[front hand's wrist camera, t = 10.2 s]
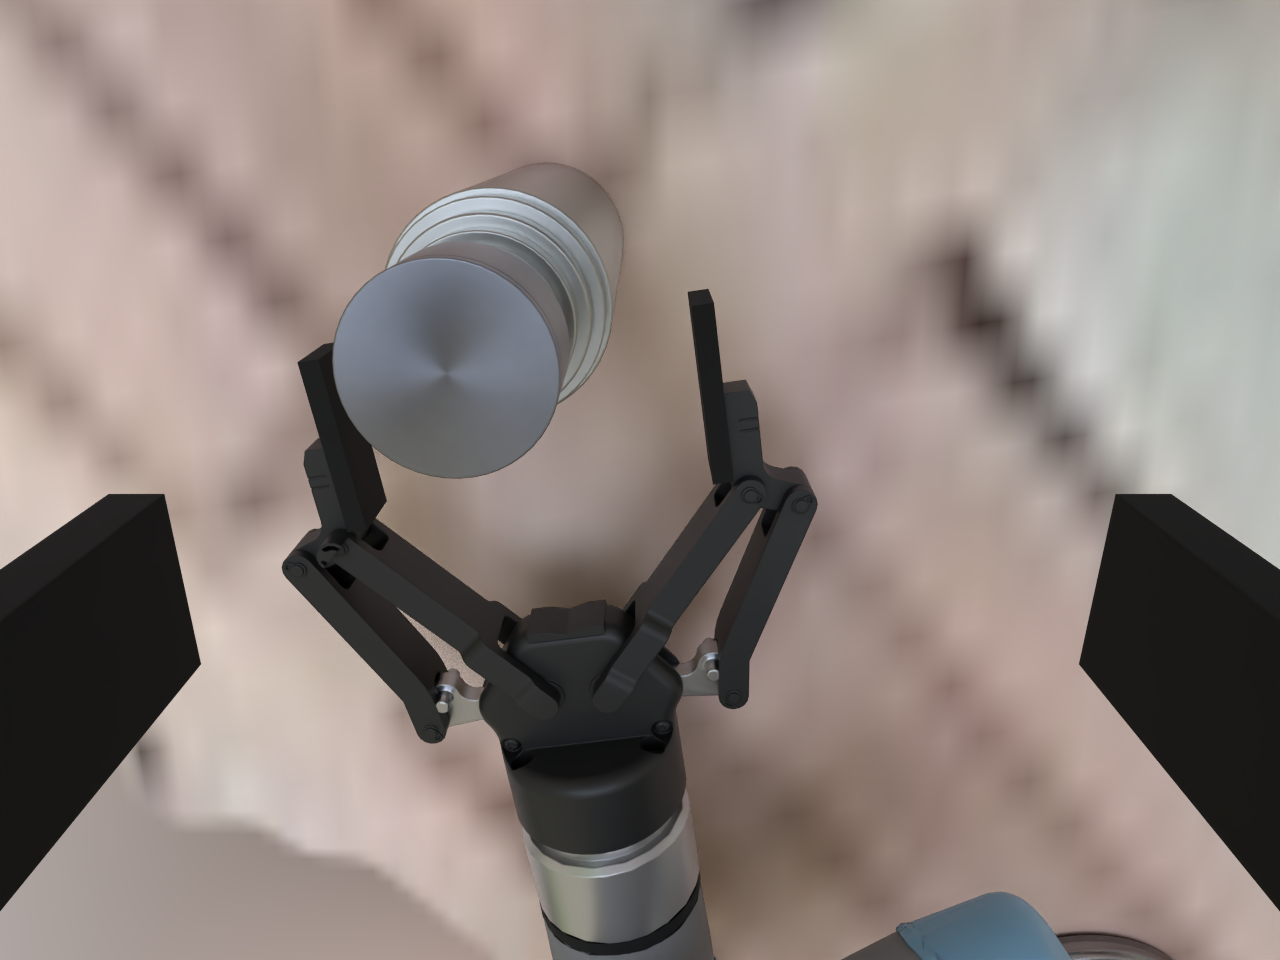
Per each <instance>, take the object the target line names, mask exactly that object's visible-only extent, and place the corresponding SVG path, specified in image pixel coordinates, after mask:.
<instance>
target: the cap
mask: <svg viewBox="0 0 1280 960" xmlns="http://www.w3.org/2000/svg"><path fill="white" fill-rule="evenodd" d="M569 347H570V342H569V334H568V328H567V324H566V320H565V316H564V314H563V312H562V309H561V307H560V304H559V302H558V300H557V299H556V297H555V295H554V293H553V292H552V290H551V289H550V288H549V286H548V285H547V284H546V282H545V281H544V280H543V279H542V278H541V277H540V276H539V275H538V274H537V273H536V271H535V270H533V269H532V268H531V267H530V266H528V265H527V264H526V263H525V262H523V261H522V260H520V259H519V258H517V257H515V256H514V255H512V254H510V253H508V252H506V251H503V250H501V249H499V248H496V247H493V246H490V245H486V244H481V243H475V242H462V241H456V242H446V243H441V244H437V245H432V246H429V247H427V248H424V249H422V250H419V251H417V252H416V253H414V254H412V255H410V256H409V257H407V258H405V259H403V260H402V261H400V262H398V263H396V264H395V265H393V266H391V267H389V268H388V269H386V270H384V271H382V272H381V273H379V274H377V275H376V276H374V277H373V278H372V279H371V280H369V281H368V282H367V283H365V284H364V285H363V286H362V288H361V289H360V290H359V291H358V292H357V293H356V294H355V295H354V296H353V298H352V299H351V301H350V302H349V304H348V305H347V306H346V308H345V310H344V312H343V314H342V316H341V318H340V321H339V324H338V327H337V330H336V333H335V339H334V344H333V358H332V363H333V374H334V379H335V384H336V388H337V392H338V394H339V397H340V400H341V403H342V405H343V407H344V409H345V411H346V413H347V415H348V417H349V418H350V420H351V421H352V423H353V424H354V426H355V427H356V429H357V430H358V431H359V432H360V433H361V435H362V436H363V437H364V438H365V439H366V440H367V441H368V442H369V443H370V444H371V445H372V446H373V447H374V448H375V449H377V450H378V451H379V452H380V453H382V454H383V455H385V456H386V457H387V458H389V459H390V460H392V461H394V462H396V463H397V464H399V465H401V466H403V467H405V468H408V469H410V470H413V471H415V472H418V473H422V474H425V475H429V476H434V477H441V478H457V479H460V478H471V477H477V476H481V475H486V474H489V473H492V472H495V471H498V470H500V469H502V468H504V467H506V466H508V465H510V464H512V463H513V462H515V461H516V460H518V459H519V458H521V457H522V456H523V455H524V454H526V453H527V452H528V451H529V450H530V449H531V448H532V447H533V446H534V445H535V444H536V443H537V441H538V440H539V439H540V438H541V437H542V435H543V433H544V432H545V430H546V429H547V427H548V425H549V423H550V421H551V419H552V417H553V414H554V412H555V409H556V406H557V402H558V399H559V396H560V392H561V389H562V386H563V383H564V379H565V376H566V372H567V369H568V362H569Z"/></svg>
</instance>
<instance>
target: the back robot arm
mask: <svg viewBox="0 0 1280 960" xmlns="http://www.w3.org/2000/svg"><path fill="white" fill-rule="evenodd" d="M688 298H689V307H690V315H691V323H692V331H693V339H694V347H695V355H696V364H697V372H698V380H699V388H700V396H701V404H702V412H703V421H704V429H705V437H706V445H707V453H708V460H709V465H710V470H711V476H712V481H713V484H716V485H715V487H714V488H713V490H712V491H711V492H710V494H709V495H708V497H707V498H706V499H705V501H704V502H703V504H702V505H701V506H700V508H699V509H698V511H697V512H696V513H695V515H694V516H693V518H692V519H691V520H690V522H689V523H688V525H687V526H686V527H685V529H684V530H683V532H682V533H681V534H680V536H679V537H678V539H677V540H676V541H675V543H674V544H673V546H672V547H671V548H670V550H669V551H668V553H667V554H666V555H665V557H664V558H663V560H662V561H661V563H660V564H659V565H658V567H657V568H656V570H655V571H654V572H653V574H652V575H651V577H650V578H649V579H648V581H646V582H643V583H642V584H641V585H640V586H639V588H638V589H637V590H636V592H635V593H634V595H633V596H632V597H631V599H630V600H629V602H628V603H627V604H626V606H625V607H624V609H623V610H622V609H620V608H618V607H615V606H611V605H607V603H606V600H599V601H591V602H586V603H584V604H581V605H578V606H576V607H573V608H570V609H568V608H558V607H543V608H535V609H532V611H531V615H528V616H526V617H525V618H523V619H521V618H520V617H519V616H517V615H516V614H515V613H513V612H512V611H511V610H509V609H508V608H506V607H505V606H504V605H502V604H501V603H499V602H497V601H487V600H486V599H484V598H483V597H482V596H480V595H479V594H478V593H476V592H475V591H474V590H472V589H471V588H469V587H468V586H467V585H465V584H464V583H463V582H461V581H460V580H459V579H457V578H456V577H455V576H453V575H452V574H450V573H449V572H448V571H446V570H445V569H444V568H442V567H441V566H440V565H438V564H437V563H436V562H434V561H433V560H431V559H430V558H429V557H427V556H426V555H425V554H423V553H422V552H421V551H419V550H418V549H417V548H415V547H414V546H413V545H411V544H410V543H408V542H407V541H406V540H404V539H403V538H402V537H400V536H399V535H398V534H396V533H395V532H394V531H392V530H391V529H389V528H388V527H387V526H385V525H384V524H383V523H381V522H380V521H379V520H377V519H376V516H377V515H378V513H379V512H380V510H381V509H382V507H383V506H384V504H385V503H386V501H387V500H386V496H385V493H384V489H383V485H382V482H381V478H380V474H379V471H378V467H377V463H376V460H375V456H374V452H373V449H372V445H371V444H370V443H369V442H368V441H367V440H366V439H365V438H364V437H363V436H362V435H361V433H360V432H359V431H358V430H357V429H356V427H355V426H354V424H353V423H352V421H351V420H350V418H349V417H348V415H347V413H346V411H345V409H344V407H343V405H342V403H341V400H340V397H339V394H338V392H337V388H336V384H335V379H334V374H333V363H332V358H333V344H334V343H329V344H323V345H322V346H320V347H319V348H318V349H316V350H315V351H313V352H312V353H310V354H309V355H307V356H306V357H305V358H303V359H302V360H300V361H299V362H298V366H299V369H300V373H301V376H302V379H303V383H304V386H305V390H306V393H307V396H308V400H309V403H310V407H311V410H312V413H313V417H314V420H315V424H316V427H317V430H318V434H319V437H320V438H318V439H317V440H316V441H315V442H314V443H313V444H312V445H311V446H310V447H309V448H308V449H307V450H306V451H305V456H304V467H305V471H306V474H307V477H308V478H309V480H308V481H309V484H310V487H311V488H312V494H313V497H314V500H315V504H316V507H317V510H318V513H319V517H320V520H321V525H322V527H321V528H320V529H313V530H310V531H309V532H308V533H307V534H306V535H305V536H304V537H303V538H302V540H301V541H300V542H299V543H298V545H297V546H296V547H295V548H294V549H293V551H292V552H291V553H290V554H289V556H288V557H287V558H286V559H285V561H284V562H283V565H282V571H283V574H284V575H285V577H286V578H287V579H288V580H289V581H290V582H291V583H292V584H293V586H294V587H295V588H296V589H297V590H298V591H299V592H300V593H301V594H302V595H303V596H304V597H305V598H306V599H307V600H308V601H309V602H310V604H311V605H312V606H313V607H314V608H315V609H316V610H317V611H318V612H319V613H320V614H321V615H322V616H323V617H324V618H325V619H326V620H327V621H328V623H329V624H330V625H331V626H332V627H333V628H334V629H335V630H336V631H337V632H338V633H339V634H340V635H341V636H342V637H343V638H344V639H345V641H346V642H347V643H348V644H349V645H350V646H351V647H352V648H353V649H354V650H355V651H356V652H357V653H358V654H359V655H360V656H361V657H362V658H363V660H364V661H365V662H366V663H367V664H368V665H369V666H370V667H371V668H372V669H373V670H374V671H375V672H376V673H377V674H378V675H379V676H380V678H381V679H382V680H383V681H384V682H385V683H386V684H387V685H388V686H389V687H390V688H391V689H392V690H393V691H394V692H395V693H396V694H397V695H398V697H399V698H400V699H401V700H402V701H403V702H404V704H405V706H406V709H407V711H408V713H409V716H410V718H411V720H412V723H413V725H414V727H415V730H416V732H417V734H418V736H419V737H420V739H422V740H423V741H425V742H427V743H438V742H441V741H442V740H443V739H444V738H445V735H446V732H447V729H448V727H450V726H454V725H459V724H463V723H468V722H472V721H477V720H482V719H484V720H485V722H486V723H487V724H489V725H490V726H491V727H492V729H493V730H494V731H495V732H496V734H497V736H498V737H499V740H500V744H501V749H502V754H503V758H504V762H505V766H506V770H507V774H508V778H509V782H510V786H511V790H512V794H513V798H514V802H515V806H516V810H517V814H518V818H519V821H520V823H521V825H522V826H521V827H522V835H523V841H524V845H525V848H526V852H527V856H528V859H529V863H530V867H531V870H532V874H533V878H534V881H535V885H536V889H537V892H538V896H539V900H540V905H541V910H542V915H543V918H544V921H545V926H546V930H547V934H548V939H549V943H550V948H551V952H552V957H553V960H716V958H715V957H714V956H713V949H712V943H711V937H710V931H709V926H708V920H707V915H706V910H705V904H704V899H703V894H702V888H701V883H700V866H699V860H698V853H697V846H696V840H695V833H694V826H693V819H692V813H691V806H690V800H689V796H688V791H687V788H686V774H685V767H684V761H683V754H682V748H681V741H680V735H679V728H678V721H677V715H676V707H677V704H678V702H679V700H680V699H681V696H703V695H719V700H720V703H721V704H722V705H723V706H725V707H726V708H730V709H736V708H740V707H742V706H744V705H745V703H746V702H747V701H748V697H749V661H750V658H751V656H752V654H753V652H754V649H755V647H756V645H757V643H758V640H759V638H760V636H761V633H762V631H763V629H764V627H765V624H766V622H767V620H768V618H769V615H770V613H771V611H772V609H773V606H774V604H775V602H776V600H777V597H778V595H779V593H780V591H781V588H782V586H783V584H784V582H785V579H786V577H787V575H788V573H789V570H790V568H791V566H792V564H793V561H794V559H795V557H796V555H797V552H798V550H799V548H800V546H801V543H802V541H803V539H804V537H805V534H806V532H807V530H808V527H809V525H810V523H811V521H812V518H813V516H814V514H815V512H816V509H817V499H816V497H815V495H814V492H813V490H812V488H811V486H810V484H809V482H808V479H807V477H806V475H805V473H804V472H803V471H802V470H801V469H799V468H797V467H787V468H784V469H783V468H778V467H773V466H770V465H768V464H766V463H765V462H764V461H763V459H762V449H761V439H760V430H759V419H758V408H757V402H756V399H755V397H754V395H753V392H752V390H751V388H750V387H749V385H748V383H747V381H746V380H740V381H733V382H726V383H723V380H722V371H721V363H720V354H719V345H718V336H717V327H716V318H715V309H714V302H713V300H712V297H711V295H710V292H709V290H708V289H705V290H698V291H691V292H688ZM760 508H763V510H762V512H761V515H760V517H759V520H758V522H757V524H756V527H755V529H754V532H753V534H752V536H751V539H750V541H749V544H748V546H747V548H746V551H745V553H744V555H743V558H742V560H741V563H740V565H739V567H738V570H737V572H736V575H735V577H734V579H733V582H732V584H731V587H730V589H729V591H728V594H727V596H726V598H725V601H724V603H723V606H722V608H721V610H720V613H719V616H718V619H717V623H716V628H715V637H714V639H713V638H707V639H705V640H704V641H703V643H702V644H701V645H700V646H699V647H698V649H697V652H696V655H695V657H694V658H693V659H692V660H691V661H689V662H687V663H680V662H679V660H678V659H677V658H676V656H675V655H674V654H672V653H671V652H670V651H669V650H668V649H667V648H666V647H665V646H664V645H665V644H666V642H667V641H668V639H669V636H670V634H671V631H672V628H673V626H674V624H675V623H676V622H677V620H678V619H679V617H680V616H681V615H682V613H683V612H684V611H685V609H686V608H687V607H688V605H689V604H690V603H691V601H692V600H693V599H694V597H695V596H696V594H697V593H698V592H699V590H700V589H701V588H702V586H703V585H704V584H705V582H706V581H707V580H708V578H709V577H710V576H711V574H712V573H713V572H714V570H715V569H716V567H717V566H718V565H719V563H720V562H721V561H722V559H723V558H724V557H725V555H726V554H727V553H728V551H729V550H730V549H731V547H732V546H733V545H734V543H735V542H736V540H737V539H738V538H739V536H740V535H741V534H742V532H743V531H744V530H745V528H746V527H747V526H748V524H749V523H750V522H751V520H752V519H753V518H754V516H755V515H756V513H757V512H758V511H759V509H760ZM398 608H399V609H400V610H402V611H403V612H404V613H406V614H407V615H409V616H410V617H411V618H413V619H414V620H416V621H417V622H418V623H420V624H421V625H423V626H424V627H426V628H427V629H428V630H430V631H431V632H433V633H434V634H435V635H437V636H438V637H440V638H441V639H442V640H444V641H445V642H447V643H448V644H449V645H451V646H452V647H454V648H455V649H456V650H458V651H459V652H460V654H461V656H462V658H463V661H464V662H465V664H466V665H467V666H468V667H469V668H471V669H472V670H473V671H475V672H476V673H478V674H479V675H481V676H482V677H483V678H485V681H484V684H483V687H472V686H469V685H468V684H466V683H465V682H464V680H463V679H462V678H461V677H460V672H459V671H458V670H457V669H449V670H448V671H447V669H446V667H445V665H444V663H443V661H442V659H441V658H440V656H439V655H438V653H437V652H436V651H435V650H434V648H433V647H432V646H431V645H430V644H429V643H428V642H427V640H426V639H425V638H424V637H423V636H422V635H421V634H420V633H419V632H418V631H417V629H416V628H415V627H414V626H413V625H412V624H411V623H410V622H409V621H408V619H407V618H406V617H405V616H404V615H403V614H402V613H401V612H400V611H399V610H398ZM497 640H499V641H500V642H501V643H503V644H504V646H503V648H502V649H501V648H500V647H499V645H498V642H497ZM896 930H897V932H895V933H893V934H891V935H889V936H887V937H885V938H883V939H881V940H879V941H877V942H875V943H873V944H871V945H869V946H867V947H865V948H863V949H861V950H859V951H857V952H855V953H854V954H852V955H850V956H848V957H846V958H844V959H842V960H1172V959H1171V958H1169V957H1168V956H1167V955H1165V954H1164V953H1162V952H1160V951H1158V950H1156V949H1155V948H1153V947H1150V946H1148V945H1145V944H1143V943H1140V942H1137V941H1133V940H1130V939H1125V938H1120V937H1113V936H1104V935H1077V936H1066V937H1060V938H1057V937H1056V935H1055V934H1054V932H1053V931H1052V929H1051V928H1050V927H1049V925H1048V924H1047V923H1046V921H1045V920H1044V919H1043V918H1042V917H1041V915H1040V914H1039V913H1038V912H1037V911H1036V910H1035V909H1034V908H1033V907H1032V906H1031V905H1030V904H1028V903H1027V902H1026V901H1024V900H1023V899H1021V898H1019V897H1017V896H1015V895H1013V894H1009V893H1005V892H995V893H987V894H984V895H982V896H979V897H976V898H974V899H971V900H968V901H966V902H963V903H960V904H958V905H955V906H952V907H950V908H947V909H944V910H942V911H939V912H937V913H934V914H931V915H929V916H926V917H923V918H921V919H918V920H915V921H913V922H910V923H901V924H900V925H899V926H897V927H896Z"/></svg>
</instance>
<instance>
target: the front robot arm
mask: <svg viewBox="0 0 1280 960" xmlns="http://www.w3.org/2000/svg"><path fill="white" fill-rule="evenodd" d="M200 665H201V662H200V657H199V653H198V648H197V644H196V639H195V634H194V630H193V625H192V620H191V616H190V611H189V606H188V602H187V597H186V593H185V588H184V583H183V579H182V574H181V569H180V565H179V560H178V555H177V551H176V546H175V542H174V537H173V532H172V528H171V523H170V518H169V514H168V509H167V504H166V500H165V495H164V494H108V495H107V496H105V497H104V498H102V499H101V500H100V501H98V502H97V503H95V504H94V505H92V506H91V507H89V508H88V509H87V510H85V511H84V512H82V513H81V514H79V515H78V516H77V517H75V518H74V519H72V520H71V521H69V522H68V523H67V524H65V525H64V526H62V527H61V528H59V529H58V530H56V531H55V532H54V533H52V534H51V535H49V536H48V537H46V538H45V539H44V540H42V541H41V542H39V543H38V544H36V545H35V546H33V547H32V548H31V549H29V550H28V551H26V552H25V553H23V554H22V555H21V556H19V557H18V558H16V559H15V560H13V561H12V562H11V563H9V564H8V565H6V566H5V567H3V568H2V569H0V911H1V910H2V908H3V907H4V906H5V905H6V903H7V902H8V901H9V900H10V898H11V897H12V896H13V895H14V894H15V892H16V891H17V890H18V889H19V887H20V886H21V885H22V884H23V883H24V881H25V880H26V879H27V878H28V876H29V875H30V874H31V873H32V871H33V870H34V869H35V868H36V867H37V865H38V864H39V863H40V862H41V860H42V859H43V858H44V857H45V855H46V854H47V853H48V852H49V851H50V849H51V848H52V847H53V846H54V844H55V843H56V842H57V841H58V839H59V838H60V837H61V836H62V835H63V833H64V832H65V831H66V830H67V828H68V827H69V826H70V825H71V823H72V822H73V821H74V820H75V818H76V817H77V816H78V815H79V814H80V812H81V811H82V810H83V809H84V807H85V806H86V805H87V804H88V803H89V801H90V800H91V799H92V798H93V796H94V795H95V794H96V793H97V791H98V790H99V789H100V788H101V787H102V785H103V784H104V783H105V782H106V780H107V779H108V778H109V777H110V776H111V774H112V773H113V772H114V771H115V769H116V768H117V767H118V766H119V764H120V763H121V762H122V761H123V760H124V758H125V757H126V756H127V755H128V753H129V752H130V751H131V750H132V748H133V747H134V746H135V745H136V744H137V742H138V741H139V740H140V739H141V737H142V736H143V735H144V734H145V732H146V731H147V730H148V729H149V728H150V726H151V725H152V724H153V723H154V721H155V720H156V719H157V718H158V716H159V715H160V714H161V713H162V712H163V710H164V709H165V708H166V707H167V705H168V704H169V703H170V702H171V700H172V699H173V698H174V697H175V696H176V694H177V693H178V692H179V691H180V689H181V688H182V687H183V686H184V684H185V683H186V682H187V681H188V680H189V678H190V677H191V676H192V675H193V673H194V672H195V671H196V670H197V668H198V667H199V666H200ZM1079 665H1080V666H1081V667H1082V668H1083V670H1084V671H1085V672H1086V673H1087V675H1088V676H1089V677H1090V678H1091V680H1092V681H1093V682H1094V683H1095V684H1096V686H1097V687H1098V688H1099V689H1100V691H1101V692H1102V693H1103V694H1104V696H1105V697H1106V698H1107V699H1108V700H1109V702H1110V703H1111V704H1112V705H1113V707H1114V708H1115V709H1116V710H1117V712H1118V713H1119V714H1120V715H1121V716H1122V718H1123V719H1124V720H1125V721H1126V723H1127V724H1128V725H1129V726H1130V728H1131V729H1132V730H1133V731H1134V732H1135V734H1136V735H1137V736H1138V737H1139V739H1140V740H1141V741H1142V742H1143V744H1144V745H1145V746H1146V747H1147V748H1148V750H1149V751H1150V752H1151V753H1152V755H1153V756H1154V757H1155V758H1156V760H1157V761H1158V762H1159V763H1160V764H1161V766H1162V767H1163V768H1164V769H1165V771H1166V772H1167V773H1168V774H1169V776H1170V777H1171V778H1172V779H1173V780H1174V782H1175V783H1176V784H1177V785H1178V787H1179V788H1180V789H1181V790H1182V792H1183V793H1184V794H1185V795H1186V796H1187V798H1188V799H1189V800H1190V801H1191V803H1192V804H1193V805H1194V806H1195V808H1196V809H1197V810H1198V811H1199V812H1200V814H1201V815H1202V816H1203V817H1204V819H1205V820H1206V821H1207V822H1208V824H1209V825H1210V826H1211V827H1212V828H1213V830H1214V831H1215V832H1216V833H1217V835H1218V836H1219V837H1220V838H1221V839H1222V841H1223V842H1224V843H1225V844H1226V846H1227V847H1228V848H1229V849H1230V851H1231V852H1232V853H1233V854H1234V855H1235V857H1236V858H1237V859H1238V860H1239V862H1240V863H1241V864H1242V865H1243V867H1244V868H1245V869H1246V870H1247V871H1248V873H1249V874H1250V875H1251V876H1252V878H1253V879H1254V880H1255V881H1256V883H1257V884H1258V885H1259V886H1260V887H1261V889H1262V890H1263V891H1264V892H1265V894H1266V895H1267V896H1268V897H1269V899H1270V900H1271V901H1272V902H1273V903H1274V905H1275V906H1276V907H1277V908H1278V910H1279V911H1280V569H1278V568H1277V567H1275V566H1274V565H1272V564H1271V563H1269V562H1268V561H1267V560H1265V559H1264V558H1262V557H1261V556H1259V555H1258V554H1257V553H1255V552H1254V551H1252V550H1251V549H1249V548H1248V547H1247V546H1245V545H1244V544H1242V543H1241V542H1239V541H1238V540H1236V539H1235V538H1234V537H1232V536H1231V535H1229V534H1228V533H1226V532H1225V531H1224V530H1222V529H1221V528H1219V527H1218V526H1216V525H1215V524H1213V523H1212V522H1211V521H1209V520H1208V519H1206V518H1205V517H1203V516H1202V515H1201V514H1199V513H1198V512H1196V511H1195V510H1193V509H1192V508H1191V507H1189V506H1188V505H1186V504H1185V503H1183V502H1182V501H1180V500H1179V499H1178V498H1176V497H1175V496H1173V495H1172V494H1116V495H1115V500H1114V504H1113V509H1112V514H1111V518H1110V523H1109V528H1108V532H1107V537H1106V542H1105V546H1104V551H1103V555H1102V560H1101V565H1100V569H1099V574H1098V579H1097V583H1096V588H1095V593H1094V597H1093V602H1092V606H1091V611H1090V616H1089V620H1088V625H1087V630H1086V634H1085V639H1084V644H1083V648H1082V653H1081V657H1080V662H1079Z"/></svg>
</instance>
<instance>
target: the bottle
mask: <svg viewBox="0 0 1280 960" xmlns="http://www.w3.org/2000/svg"><path fill="white" fill-rule="evenodd" d="M456 241H462V242H475V243H481V244H486V245H490V246H493V247H496V248H499V249H501V250H503V251H506V252H508V253H510V254H512V255H514V256H515V257H517V258H519V259H520V260H522V261H523V262H525V263H526V264H527V265H528V266H530V267H531V268H532V269H533V270H535V271H536V273H537V274H538V275H539V276H540V277H541V278H542V279H543V280H544V281H545V282H546V284H547V285H548V286H549V288H550V289H551V290H552V292H553V293H554V295H555V297H556V299H557V300H558V302H559V304H560V307H561V309H562V312H563V314H564V316H565V320H566V324H567V328H568V334H569V342H570V347H569V362H568V369H567V372H566V376H565V379H564V383H563V386H562V389H561V392H560V396H559V399H558V402H557V404H559V403H560V402H562V401H564V400H565V399H566V398H568V397H569V396H571V395H572V394H573V393H574V392H576V391H577V390H578V389H579V388H580V387H581V386H582V385H583V384H584V383H585V382H586V381H587V379H588V378H589V377H590V376H591V375H592V373H593V372H594V370H595V368H596V367H597V365H598V364H599V362H600V360H601V358H602V356H603V353H604V351H605V349H606V346H607V343H608V339H609V336H610V331H611V325H612V319H613V312H614V305H615V299H616V292H617V286H618V279H619V273H620V266H621V259H622V253H623V231H622V225H621V221H620V218H619V215H618V212H617V210H616V208H615V206H614V204H613V202H612V200H611V199H610V197H609V196H608V194H607V193H606V192H605V191H604V189H603V188H602V187H601V186H600V185H599V184H598V183H597V182H595V181H594V180H593V179H592V178H591V177H589V176H588V175H586V174H584V173H583V172H581V171H579V170H577V169H575V168H572V167H569V166H566V165H561V164H555V163H539V164H532V165H528V166H524V167H522V168H519V169H516V170H514V171H511V172H508V173H506V174H503V175H500V176H498V177H495V178H492V179H490V180H487V181H485V182H482V183H479V184H477V185H474V186H471V187H469V188H466V189H463V190H461V191H458V192H455V193H453V194H450V195H448V196H445V197H443V198H441V199H439V200H437V201H436V202H434V203H432V204H430V205H429V206H427V207H426V208H425V209H424V210H422V211H421V212H420V213H419V214H417V215H416V216H415V217H414V218H413V219H412V220H411V222H410V223H409V224H408V225H407V226H406V227H405V229H404V230H403V231H402V233H401V234H400V236H399V237H398V238H397V240H396V242H395V244H394V246H393V248H392V250H391V252H390V255H389V258H388V261H387V264H386V267H385V270H386V269H388V268H389V267H391V266H393V265H395V264H396V263H398V262H400V261H402V260H403V259H405V258H407V257H409V256H410V255H412V254H414V253H416V252H417V251H419V250H422V249H424V248H427V247H429V246H432V245H437V244H441V243H446V242H456Z"/></svg>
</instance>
